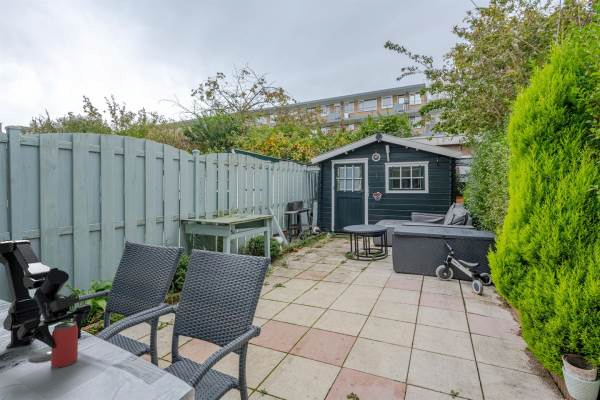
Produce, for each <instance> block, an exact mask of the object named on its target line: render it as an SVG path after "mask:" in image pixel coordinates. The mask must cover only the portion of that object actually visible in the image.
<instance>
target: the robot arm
mask: <svg viewBox="0 0 600 400" xmlns="http://www.w3.org/2000/svg"><path fill="white" fill-rule="evenodd" d="M0 264H2V266H4V269H5V275H6V280H7V283H8V284H7V285H8V287H9V293H10V297H11V301H12V303H11V304H10V306H9V308H8V310H7V315H6V317H5V319H4V321H3V322H2V325H3V329H4V330H6V331H8V332H10V342H9V343H8V344H7V345H6V346H5V348H6V349H11V348H19V347H23V346H29V345H31V344H32V343H33V342H34V340H37V341H40V342H42V343H43V344H45V345H46V346H50V347H51V348H55V347H56V345H55V342H54V340H53V338H52V333H51V332H50V329H49V327H50V326H53V325H57V324H60V323H64V322H67V321H68V320H70V322H76V325H77V327H78V340H80V339H81V338H82V322H83V321H84V320H86V319H87V318H88V317H89V316H90V315H91V313H92V312H93V311H94V309H93V307H92V305H91V304H88V303H87V304H84V305H80V306H77V307H76V308H75V310H74V311H73V312H70V311H71V307H74V306H75V304H77V303H79V302H80V297H79V295H78V293H77V292H75V293H72V294H69V295H68V296H67V297H64V298H63V297H60V294H59V293H60V292H61V291H62V290H63V288H64V287H65V285H66V284H67V282H68V281H69V279H70V276H69V273H68V272H67V271H65V270H61V269H59V268H58V267H52V268H51V267H49V266H48V265H45V264H43V263H41V261H40V260H39V257H38V256H37V255H36V253H35V252H34V250H33V248H32V244H31V241H30V240H27V239H22V240H19V239H18V240H16V239H15V240H5V241H0ZM34 289H35V292H34V293H33V296H31V295H30V291H29V290H34ZM68 312H69V313H68ZM41 316H42V318H43V320H42V319H41Z"/></svg>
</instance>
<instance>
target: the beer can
mask: <svg viewBox="0 0 600 400" xmlns="http://www.w3.org/2000/svg"><path fill="white" fill-rule="evenodd" d="M52 330H53V331H52V332H51V336H52V338H53V340H54V342H55V345H56V347H55V348H51V360H50V366H52V368H63V367H66V366H67V367H68V366H69V365H72V364H73V363H75V362H76V361H77V360H78V351H79V350H78V349H79V339H78V327H77V325H76V322H71V321H63V322H59V323H57V324H55V326H54V327H53V329H52Z"/></svg>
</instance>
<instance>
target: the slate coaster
mask: <svg viewBox="0 0 600 400" xmlns="http://www.w3.org/2000/svg"><path fill="white" fill-rule="evenodd" d="M28 361H29V362H32V363H40V362H41V363H42V362H47V361H51V347H50V346H48V345H46V346H44V347H40V348H39V349H36V350H35V351H34V350H33V352H31V353H30V354H29V355H28Z"/></svg>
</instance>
